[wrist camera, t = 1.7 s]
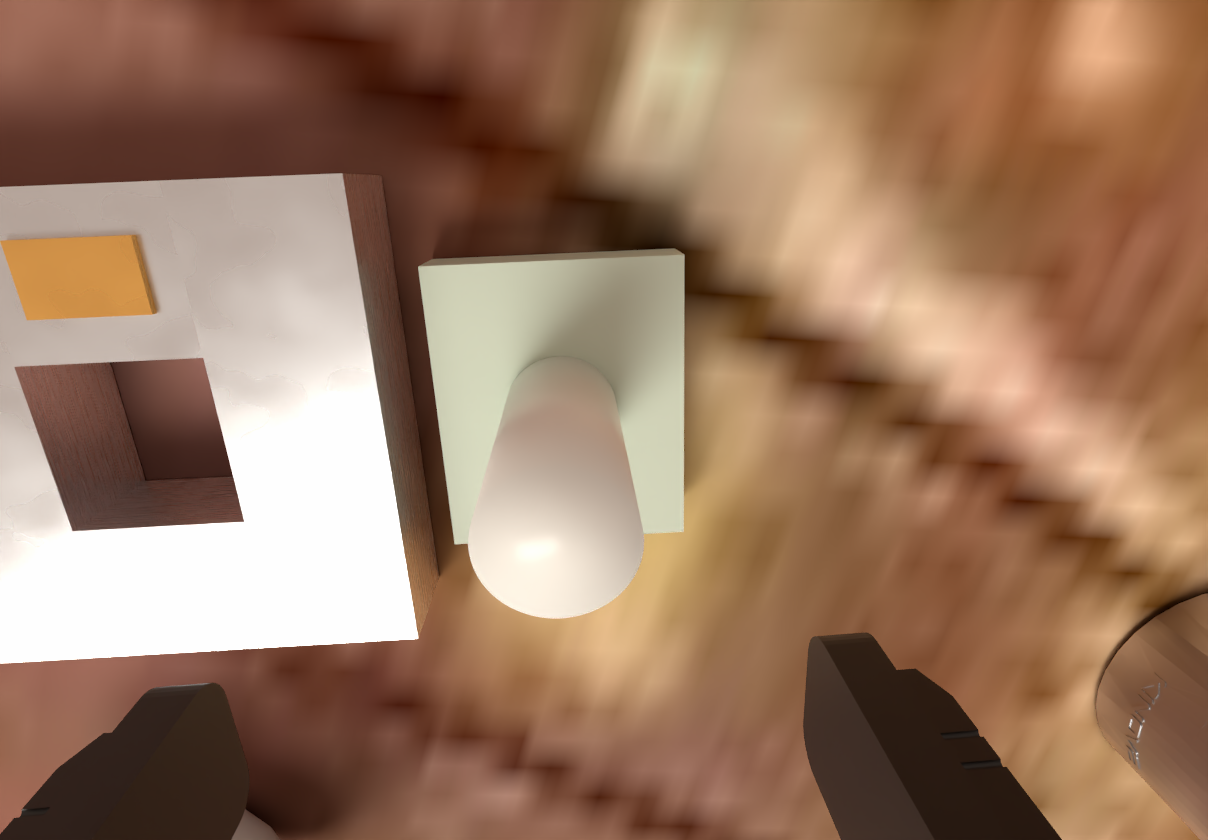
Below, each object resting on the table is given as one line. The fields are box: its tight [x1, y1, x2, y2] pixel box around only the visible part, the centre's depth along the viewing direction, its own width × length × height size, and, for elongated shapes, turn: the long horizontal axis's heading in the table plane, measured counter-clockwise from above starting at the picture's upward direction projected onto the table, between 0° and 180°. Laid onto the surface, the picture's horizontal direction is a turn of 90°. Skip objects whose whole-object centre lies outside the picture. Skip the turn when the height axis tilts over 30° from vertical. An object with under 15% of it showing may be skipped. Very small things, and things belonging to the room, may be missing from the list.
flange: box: [0, 173, 439, 663], centre depth 20 cm, size 14×14×4 cm
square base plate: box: [418, 248, 685, 544], centre depth 21 cm, size 8×9×2 cm
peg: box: [468, 356, 644, 618], centre depth 16 cm, size 3×3×8 cm
